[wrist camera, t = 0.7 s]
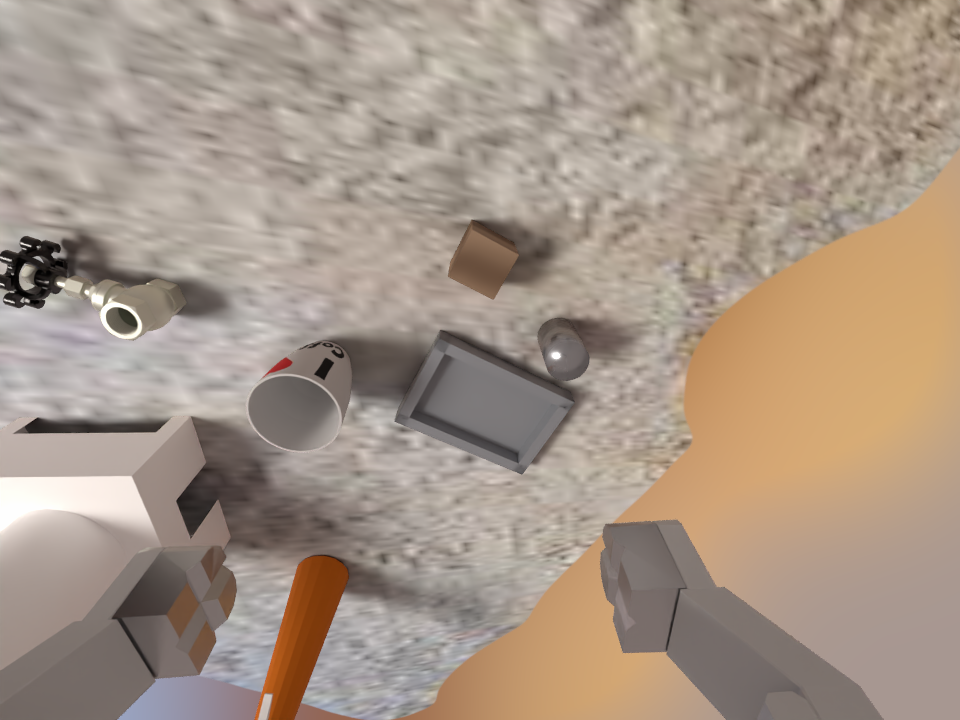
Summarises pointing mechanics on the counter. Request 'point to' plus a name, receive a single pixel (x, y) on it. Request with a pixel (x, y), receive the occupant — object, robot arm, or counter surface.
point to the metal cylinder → (562, 349)
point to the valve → (89, 291)
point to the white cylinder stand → (86, 519)
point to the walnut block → (483, 260)
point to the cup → (302, 398)
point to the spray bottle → (301, 635)
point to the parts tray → (482, 404)
